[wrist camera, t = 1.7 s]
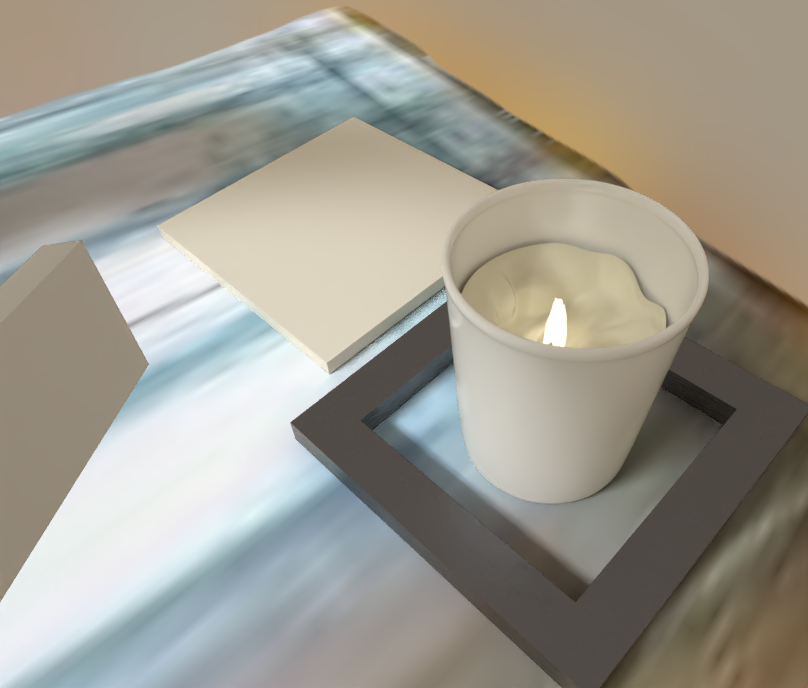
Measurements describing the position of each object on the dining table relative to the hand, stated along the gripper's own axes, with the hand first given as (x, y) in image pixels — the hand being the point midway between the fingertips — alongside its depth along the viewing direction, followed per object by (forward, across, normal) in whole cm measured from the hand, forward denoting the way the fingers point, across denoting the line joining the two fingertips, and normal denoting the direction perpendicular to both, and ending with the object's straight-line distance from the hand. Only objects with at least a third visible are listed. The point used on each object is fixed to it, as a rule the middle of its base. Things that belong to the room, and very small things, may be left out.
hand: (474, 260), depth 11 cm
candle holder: (+16, +1, -20) cm, 25 cm away
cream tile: (+31, -11, -14) cm, 36 cm away
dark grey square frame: (+16, +1, -20) cm, 25 cm away
